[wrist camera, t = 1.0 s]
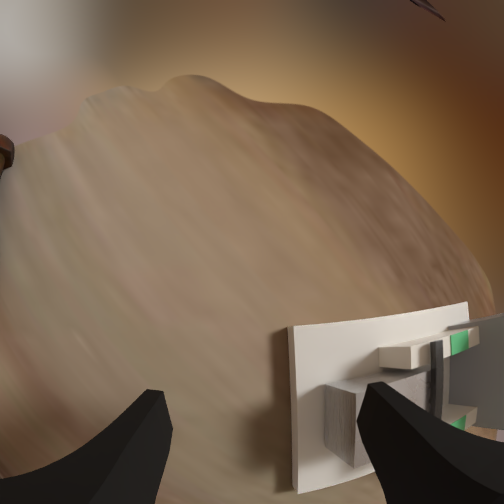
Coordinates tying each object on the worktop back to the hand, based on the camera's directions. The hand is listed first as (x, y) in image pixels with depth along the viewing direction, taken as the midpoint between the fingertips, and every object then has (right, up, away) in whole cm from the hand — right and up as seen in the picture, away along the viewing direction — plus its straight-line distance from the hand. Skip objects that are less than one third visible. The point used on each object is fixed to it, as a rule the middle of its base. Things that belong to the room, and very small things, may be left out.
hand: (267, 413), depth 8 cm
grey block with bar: (+9, -6, +9) cm, 14 cm away
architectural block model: (+12, -7, +11) cm, 18 cm away
